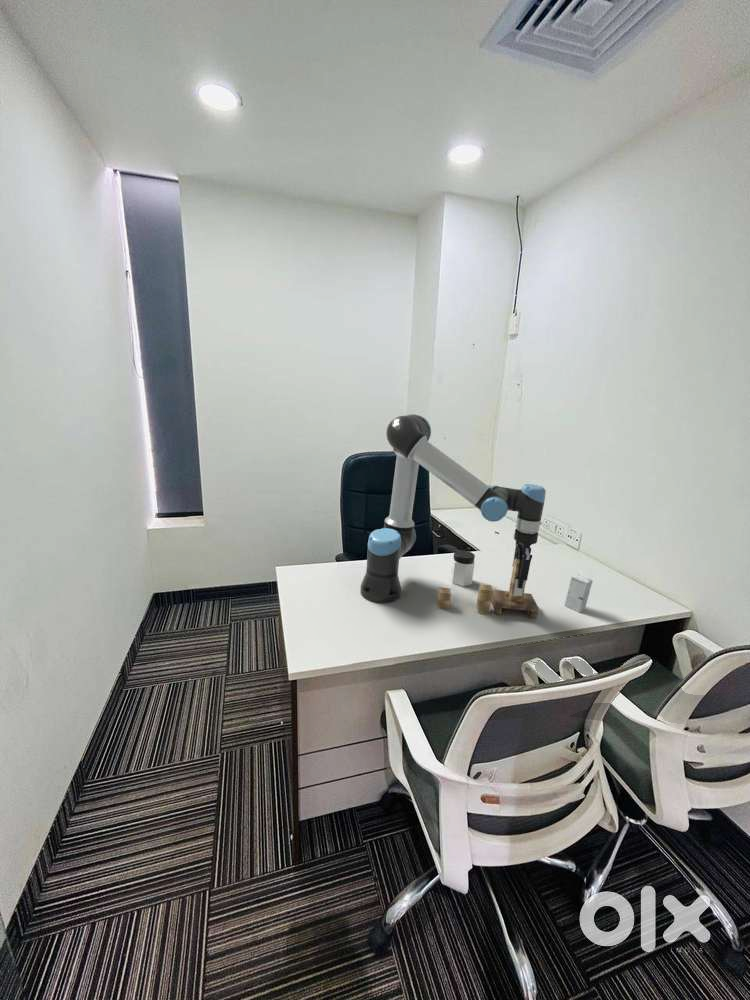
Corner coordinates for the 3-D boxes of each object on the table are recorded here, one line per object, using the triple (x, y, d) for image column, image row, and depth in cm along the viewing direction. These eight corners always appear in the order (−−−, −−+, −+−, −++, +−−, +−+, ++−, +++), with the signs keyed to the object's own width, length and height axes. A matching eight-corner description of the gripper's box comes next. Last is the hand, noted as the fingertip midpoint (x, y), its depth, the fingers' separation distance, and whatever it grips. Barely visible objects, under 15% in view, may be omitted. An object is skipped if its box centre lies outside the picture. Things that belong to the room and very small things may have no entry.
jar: (448, 575, 172) (452, 549, 168) (468, 576, 172) (472, 550, 168) (452, 586, 163) (456, 558, 160) (473, 587, 163) (477, 559, 160)
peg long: (509, 604, 146) (516, 562, 142) (507, 598, 150) (514, 558, 145) (521, 605, 146) (528, 564, 141) (518, 600, 149) (526, 559, 145)
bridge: (495, 614, 144) (497, 603, 143) (490, 600, 154) (492, 589, 153) (536, 619, 143) (538, 607, 142) (529, 604, 153) (531, 593, 151)
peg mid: (477, 612, 145) (481, 589, 143) (476, 606, 149) (479, 584, 146) (489, 613, 145) (493, 590, 142) (487, 608, 148) (491, 585, 146)
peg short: (437, 607, 146) (439, 592, 145) (437, 602, 150) (439, 587, 148) (448, 609, 146) (451, 593, 144) (448, 603, 150) (450, 588, 148)
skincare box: (563, 605, 154) (570, 576, 151) (570, 602, 157) (576, 573, 153) (580, 613, 149) (587, 582, 146) (586, 609, 152) (593, 580, 149)
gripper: (545, 540, 132) (533, 605, 138) (532, 523, 148) (521, 582, 154) (521, 537, 132) (510, 603, 139) (510, 521, 149) (501, 580, 155)
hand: (516, 592), depth 147 cm, fingers closed on peg long, 4 cm apart
